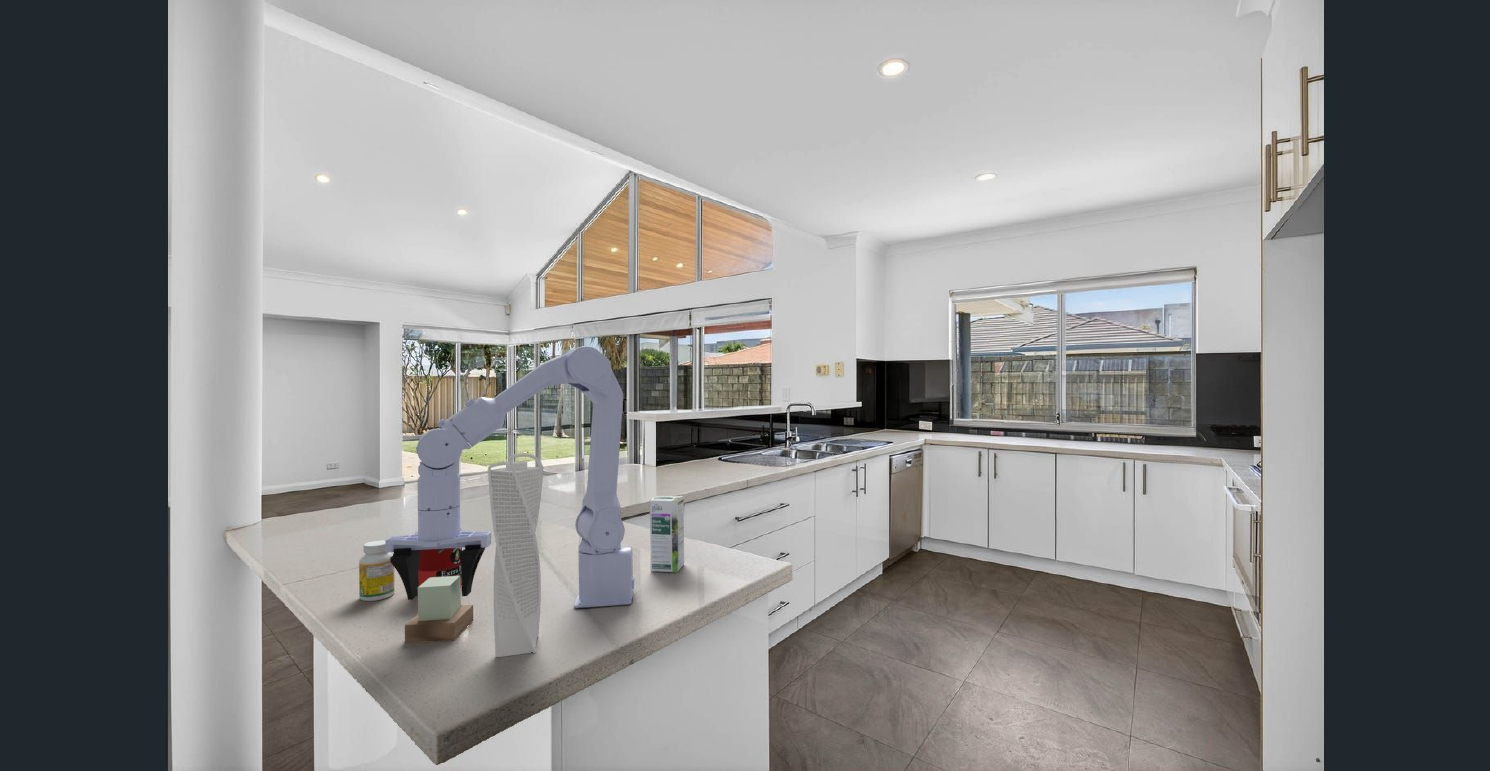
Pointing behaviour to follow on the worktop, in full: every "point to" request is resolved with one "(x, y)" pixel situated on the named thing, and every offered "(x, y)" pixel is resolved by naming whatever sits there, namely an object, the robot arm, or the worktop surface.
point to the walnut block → (439, 627)
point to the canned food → (439, 563)
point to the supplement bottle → (376, 572)
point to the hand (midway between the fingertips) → (440, 595)
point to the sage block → (439, 598)
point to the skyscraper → (516, 554)
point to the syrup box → (667, 533)
